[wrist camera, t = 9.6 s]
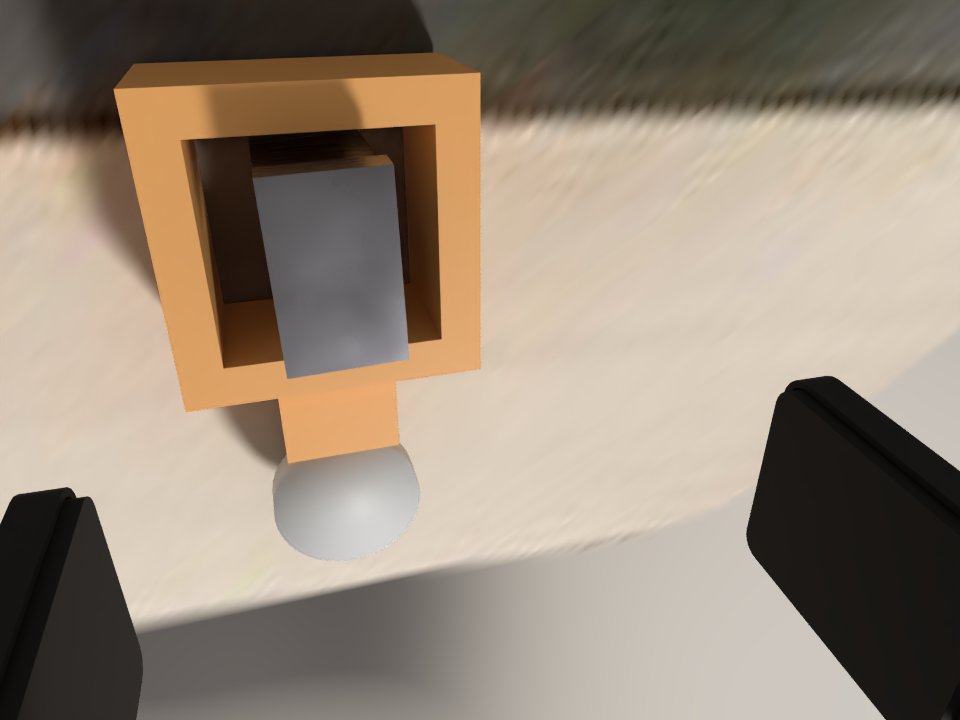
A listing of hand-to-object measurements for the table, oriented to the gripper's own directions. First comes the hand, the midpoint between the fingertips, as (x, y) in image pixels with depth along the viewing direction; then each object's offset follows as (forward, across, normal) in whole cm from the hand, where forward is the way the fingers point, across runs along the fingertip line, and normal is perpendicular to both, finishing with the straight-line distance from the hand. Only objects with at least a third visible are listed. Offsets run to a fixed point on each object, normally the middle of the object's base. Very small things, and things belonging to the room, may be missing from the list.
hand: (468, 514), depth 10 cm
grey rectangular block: (+16, +1, 0) cm, 16 cm away
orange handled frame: (+16, +1, +5) cm, 17 cm away
